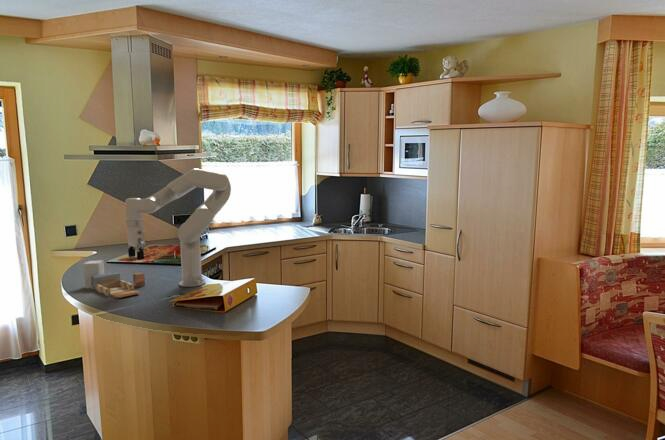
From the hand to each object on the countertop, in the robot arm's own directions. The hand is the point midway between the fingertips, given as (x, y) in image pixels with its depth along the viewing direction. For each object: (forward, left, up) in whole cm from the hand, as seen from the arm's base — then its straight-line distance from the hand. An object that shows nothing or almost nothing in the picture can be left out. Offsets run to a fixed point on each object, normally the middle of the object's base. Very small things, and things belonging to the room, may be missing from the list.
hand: (136, 258), depth 245 cm
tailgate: (-9, +12, -14) cm, 20 cm away
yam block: (0, 0, -15) cm, 15 cm away
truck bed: (+2, +12, -15) cm, 19 cm away
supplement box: (+19, +14, -15) cm, 28 cm away
